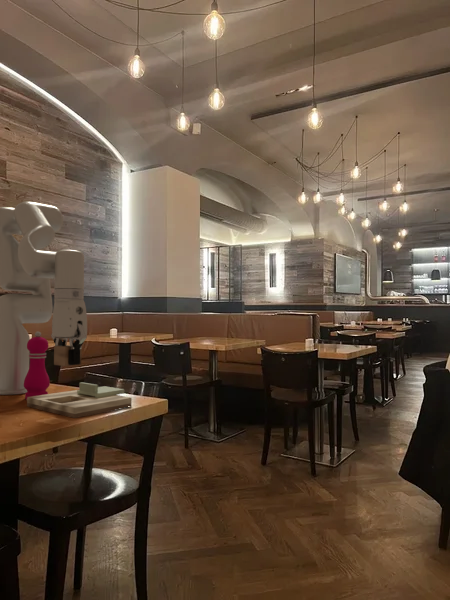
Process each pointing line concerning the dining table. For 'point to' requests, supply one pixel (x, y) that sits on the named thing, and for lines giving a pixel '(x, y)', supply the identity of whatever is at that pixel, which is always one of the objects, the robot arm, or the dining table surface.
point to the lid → (98, 390)
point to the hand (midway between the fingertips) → (67, 363)
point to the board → (77, 403)
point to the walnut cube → (63, 355)
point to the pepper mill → (37, 367)
